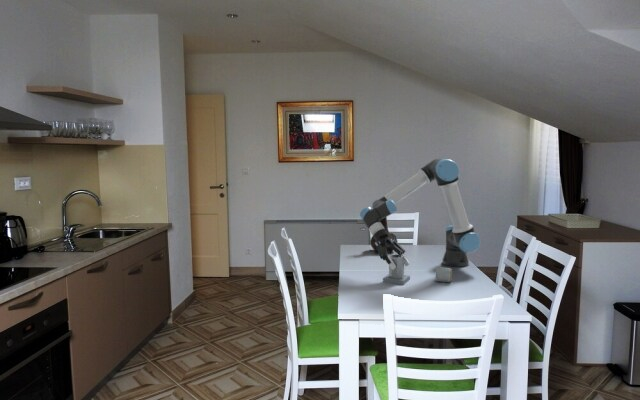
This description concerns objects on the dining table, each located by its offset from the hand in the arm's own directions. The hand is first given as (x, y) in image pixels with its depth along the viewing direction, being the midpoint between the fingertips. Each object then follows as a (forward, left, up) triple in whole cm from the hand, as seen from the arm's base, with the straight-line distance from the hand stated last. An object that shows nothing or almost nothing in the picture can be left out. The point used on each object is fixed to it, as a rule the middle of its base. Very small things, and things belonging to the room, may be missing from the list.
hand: (401, 266), depth 232 cm
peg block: (+3, -1, -8) cm, 9 cm away
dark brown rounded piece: (+33, -65, -8) cm, 73 cm away
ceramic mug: (-19, -12, -8) cm, 24 cm away
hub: (+3, -1, -6) cm, 7 cm away
